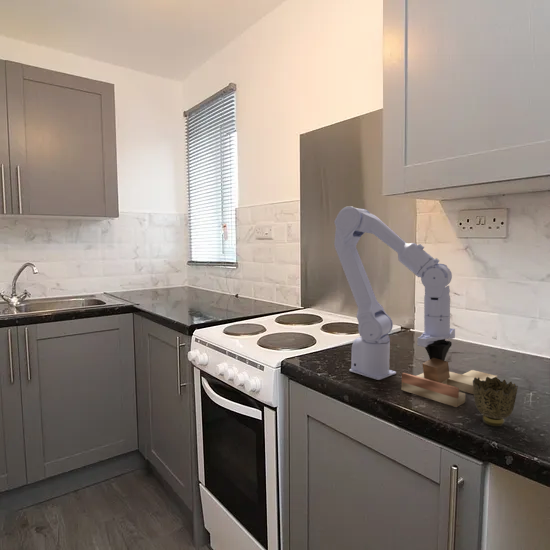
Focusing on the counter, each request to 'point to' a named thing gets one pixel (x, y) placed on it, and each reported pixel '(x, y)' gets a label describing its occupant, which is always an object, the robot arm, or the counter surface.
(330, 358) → the counter surface
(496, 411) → the cup
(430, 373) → the walnut cube
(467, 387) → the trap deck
